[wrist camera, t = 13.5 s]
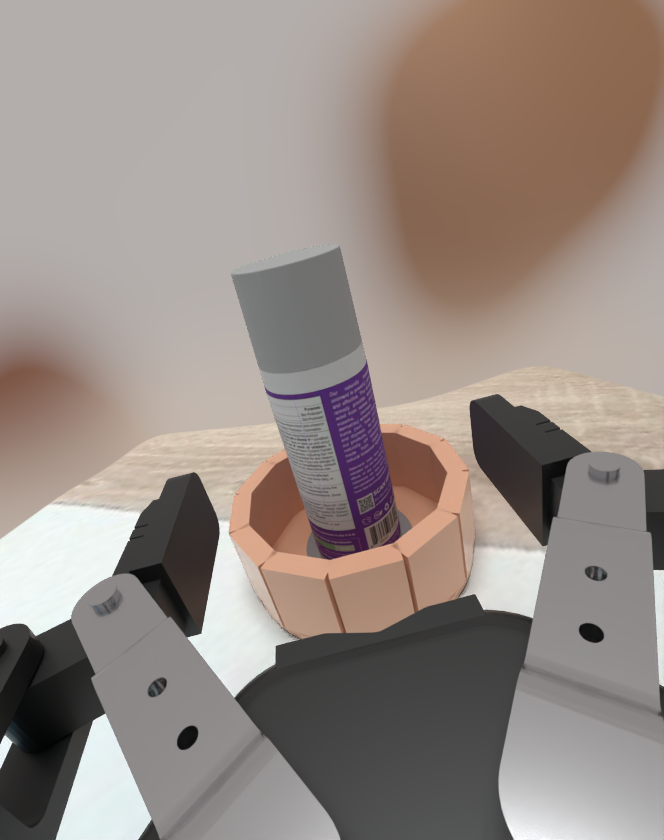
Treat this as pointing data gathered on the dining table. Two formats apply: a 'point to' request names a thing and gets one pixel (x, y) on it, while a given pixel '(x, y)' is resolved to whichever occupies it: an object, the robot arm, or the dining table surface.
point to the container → (321, 395)
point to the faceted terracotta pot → (368, 570)
